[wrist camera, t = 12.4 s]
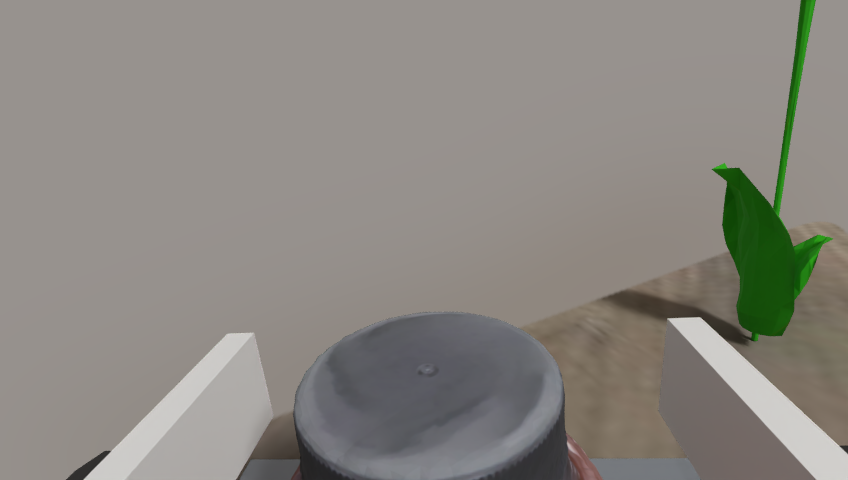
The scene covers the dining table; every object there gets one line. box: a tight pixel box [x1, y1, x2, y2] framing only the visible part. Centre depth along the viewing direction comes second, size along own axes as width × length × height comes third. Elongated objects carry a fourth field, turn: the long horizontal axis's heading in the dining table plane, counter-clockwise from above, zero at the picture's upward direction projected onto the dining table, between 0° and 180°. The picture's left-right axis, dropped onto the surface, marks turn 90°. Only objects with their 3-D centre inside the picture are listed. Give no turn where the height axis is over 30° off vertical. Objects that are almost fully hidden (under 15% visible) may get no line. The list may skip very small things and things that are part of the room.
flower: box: [712, 0, 833, 341], centre depth 23 cm, size 9×8×30 cm
